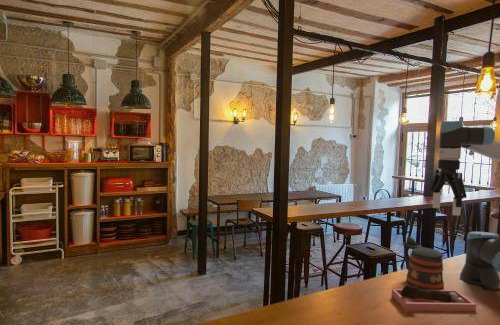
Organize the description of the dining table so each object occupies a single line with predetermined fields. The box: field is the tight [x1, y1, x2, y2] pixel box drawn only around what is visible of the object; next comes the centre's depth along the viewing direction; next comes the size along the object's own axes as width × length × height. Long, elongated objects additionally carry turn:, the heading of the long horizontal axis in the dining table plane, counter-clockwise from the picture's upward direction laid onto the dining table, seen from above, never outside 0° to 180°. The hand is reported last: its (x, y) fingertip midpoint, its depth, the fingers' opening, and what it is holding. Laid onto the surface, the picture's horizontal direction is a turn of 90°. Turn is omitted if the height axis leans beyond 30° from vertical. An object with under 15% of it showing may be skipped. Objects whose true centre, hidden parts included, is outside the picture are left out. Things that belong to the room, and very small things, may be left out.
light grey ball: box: [449, 292, 458, 301], centre depth 131 cm, size 3×3×3 cm
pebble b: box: [455, 298, 465, 303], centre depth 127 cm, size 3×3×3 cm
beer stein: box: [402, 236, 445, 290], centre depth 145 cm, size 19×15×20 cm
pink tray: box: [391, 288, 477, 314], centre depth 129 cm, size 26×12×4 cm, turn 91°
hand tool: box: [401, 284, 451, 303], centre depth 129 cm, size 19×4×5 cm, turn 92°
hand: (445, 211), depth 137 cm, fingers open, 13 cm apart
